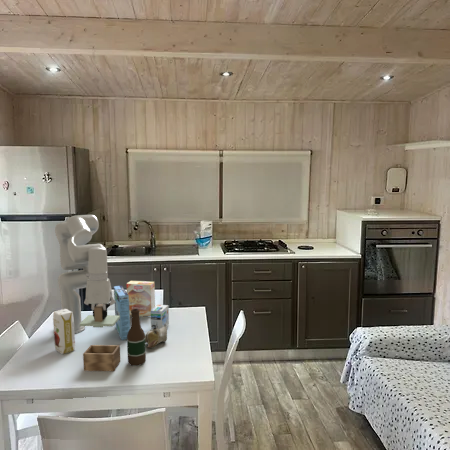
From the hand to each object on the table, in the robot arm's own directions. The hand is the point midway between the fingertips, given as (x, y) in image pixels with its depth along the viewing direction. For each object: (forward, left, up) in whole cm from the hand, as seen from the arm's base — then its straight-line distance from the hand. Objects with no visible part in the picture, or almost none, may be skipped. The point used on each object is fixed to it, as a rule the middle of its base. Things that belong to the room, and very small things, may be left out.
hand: (100, 317), depth 174 cm
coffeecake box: (+1, +65, -22) cm, 68 cm away
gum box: (-2, +37, -22) cm, 43 cm away
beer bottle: (+14, +4, -22) cm, 26 cm away
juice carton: (-23, +15, -22) cm, 35 cm away
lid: (0, 0, -3) cm, 3 cm away
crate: (0, 0, -22) cm, 22 cm away
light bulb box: (+16, +46, -22) cm, 53 cm away
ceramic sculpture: (+18, +23, -22) cm, 37 cm away
